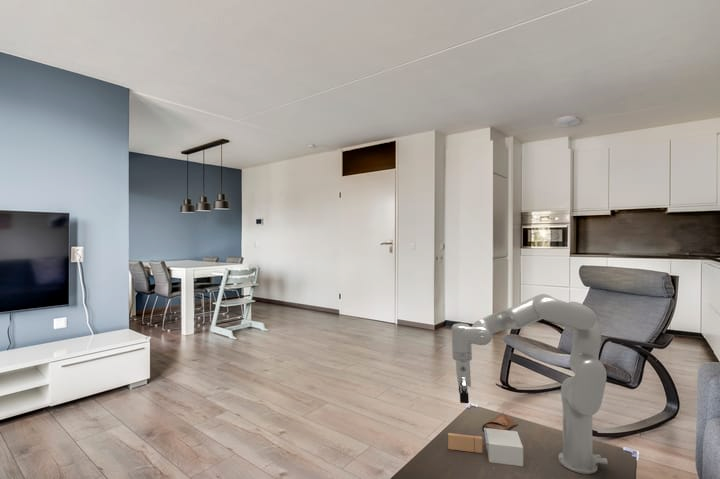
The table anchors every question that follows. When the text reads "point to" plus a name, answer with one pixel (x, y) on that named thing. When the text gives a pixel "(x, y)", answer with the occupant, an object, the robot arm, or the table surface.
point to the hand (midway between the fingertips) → (463, 397)
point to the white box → (504, 447)
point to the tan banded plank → (465, 442)
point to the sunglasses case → (500, 423)
